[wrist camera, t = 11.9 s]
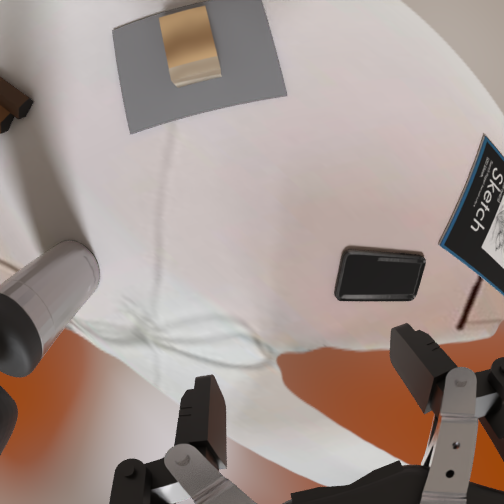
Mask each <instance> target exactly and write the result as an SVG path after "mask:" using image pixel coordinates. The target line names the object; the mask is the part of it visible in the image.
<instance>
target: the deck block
mask: <svg viewBox="0 0 504 504" xmlns="http://www.w3.org/2000/svg"><path fill="white" fill-rule="evenodd" d="M159 21H160V27H161V32H162V37H163V42H164V47H165V52H166V57H167V62H168V67H169V72H170V77H171V81H172V82H173V83H174V84H175V86H176V87H177V88H179V87H183V86H186V85H190V84H194V83H198V82H202V81H206V80H210V79H214V78H218V77H222V76H221V68H220V64H219V60H218V56H217V52H216V48H215V44H214V40H213V35H212V31H211V27H210V23H209V19H208V15H207V11H206V7H205V6H201V7H197V8H192V9H188V10H185V11H181V12H177V13H173V14H170V15H167V16H163V17H160V18H159Z"/></svg>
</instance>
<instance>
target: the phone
mask: <svg viewBox="0 0 504 504" xmlns="http://www.w3.org/2000/svg"><path fill="white" fill-rule="evenodd" d="M341 261H342V262H341V263H340V268H339V273H338V278H337V282H336V287H335V291H334V294H335V297H336V298H337V299H338V300H339V301H411V300H413V299H414V298H415V297H416V295H417V292H418V288H419V285H420V282H421V278H422V275H423V271H424V268H425V264H426V260H425V258H424V257H422V256H421V255H412V254H405V253H400V254H399V253H387V252H374V251H361V250H347V251H345V252H344V253H343V255H342V258H341Z"/></svg>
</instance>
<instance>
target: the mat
mask: <svg viewBox="0 0 504 504" xmlns="http://www.w3.org/2000/svg"><path fill="white" fill-rule="evenodd" d="M201 6H205V7H206V11H207V15H208V19H209V23H210V27H211V31H212V35H213V40H214V44H215V48H216V52H217V56H218V60H219V64H220V68H221V76H222V77H218V78H214V79H210V80H206V81H202V82H198V83H194V84H190V85H186V86H183V87H179V88H177V87H176V86H175V84H174V83H173V82H172V81H171V77H170V72H169V67H168V62H167V57H166V52H165V47H164V42H163V37H162V32H161V27H160V21H159V18H160V17H163V16H167V15H170V14H173V13H177V12H181V11H185V10H188V9H192V8H197V7H201ZM112 33H113V41H114V48H115V55H116V62H117V68H118V74H119V80H120V86H121V91H122V96H123V102H124V107H125V112H126V117H127V121H128V126H129V131H130V134H134V133H136V132H139V131H142V130H145V129H148V128H152V127H155V126H158V125H161V124H164V123H168V122H171V121H174V120H178V119H182V118H185V117H189V116H192V115H196V114H200V113H204V112H208V111H212V110H216V109H221V108H225V107H230V106H234V105H239V104H244V103H249V102H254V101H260V100H265V99H271V98H278V97H284V96H287V92H286V88H285V84H284V79H283V75H282V71H281V68H280V64H279V60H278V56H277V52H276V48H275V45H274V41H273V38H272V34H271V30H270V27H269V23H268V20H267V17H266V13H265V10H264V7H263V3H262V0H210V1H205V2H201V3H196V4H192V5H188V6H184V7H180V8H177V9H173V10H169V11H166V12H163V13H159V14H156V15H153V16H150V17H147V18H144V19H141V20H138V21H135V22H133V23H130V24H127V25H125V26H122V27H120V28H117V29H115V30H112Z"/></svg>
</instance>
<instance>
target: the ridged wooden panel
mask: <svg viewBox="0 0 504 504" xmlns="http://www.w3.org/2000/svg"><path fill="white" fill-rule="evenodd" d="M32 104H33V101H32V100H31V99H30V98H29V97H28V96H26V95H25V94H24V93H22V92H21V91H19V90H18V89H17V88H15V87H14V86H12V85H11V84H10V83H8V82H7V81H6V80H4V79H3V78H1V77H0V133H4V132H6V131H8V130H9V128H10V125H11V123H12V121H13V119H14V117H16V118H17V119H21V118H24V117H26V115H27V113H28V111H29V109H30V108H31V106H32Z"/></svg>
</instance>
